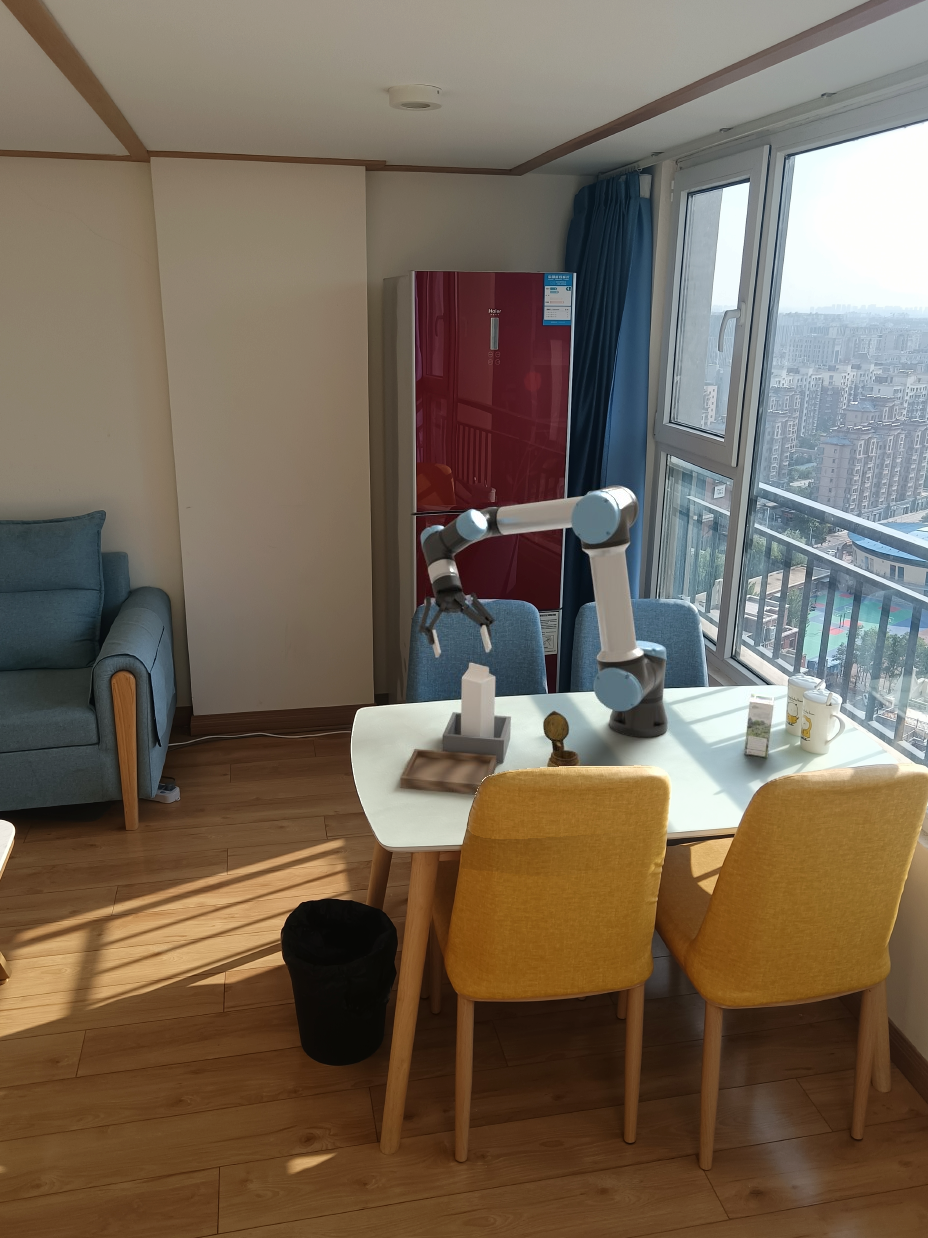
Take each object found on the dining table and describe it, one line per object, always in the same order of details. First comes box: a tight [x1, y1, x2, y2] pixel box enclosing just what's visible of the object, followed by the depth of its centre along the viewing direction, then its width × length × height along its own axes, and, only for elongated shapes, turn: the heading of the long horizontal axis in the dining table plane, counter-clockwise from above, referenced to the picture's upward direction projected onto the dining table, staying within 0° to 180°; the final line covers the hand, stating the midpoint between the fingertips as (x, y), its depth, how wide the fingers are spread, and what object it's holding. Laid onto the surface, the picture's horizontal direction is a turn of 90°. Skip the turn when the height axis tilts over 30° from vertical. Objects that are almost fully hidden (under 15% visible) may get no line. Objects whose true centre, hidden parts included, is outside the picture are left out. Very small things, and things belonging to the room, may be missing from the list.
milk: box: [460, 662, 496, 738], centre depth 241 cm, size 6×6×22 cm
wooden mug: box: [542, 710, 581, 768], centre depth 217 cm, size 9×14×18 cm, turn 13°
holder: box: [441, 711, 512, 764], centre depth 243 cm, size 15×15×6 cm
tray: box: [399, 748, 497, 795], centre depth 228 cm, size 20×16×2 cm
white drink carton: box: [743, 693, 775, 758], centre depth 242 cm, size 6×6×14 cm
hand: (463, 652), depth 247 cm, fingers open, 13 cm apart
